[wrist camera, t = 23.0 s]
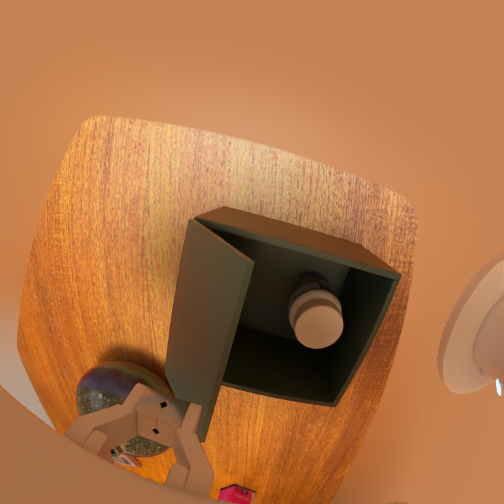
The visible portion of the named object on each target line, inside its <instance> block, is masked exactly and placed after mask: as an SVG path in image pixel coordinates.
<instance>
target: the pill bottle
mask: <svg viewBox="0 0 504 504" xmlns="http://www.w3.org/2000/svg"><path fill="white" fill-rule="evenodd" d="M287 300H288V313H289V321H290V324H291V326H292V328H293V329H294V331H295V335H296V337H297V339H298V340H299V342H300V343H302V344H303V345H304V346H306V347H309V348H314V349H319V348H324V347H327V346H329V345H331V344H333V343H334V342H335V341H336V340H337V339H338V338H339V337H340V335H341V333H342V330H343V319H342V309H341V305H340V302H339V300H338V298H337V296H336V295H335V293H334V291H333V289H332V287H331V285H330V284H329V282H328V280H327V279H326V277H325V276H323V275H322V274H320V273H318V272H315V271H305V272H302V273H299V274H297V275H296V276H295V277H294V278H293V279H292V280H291V281H290V283H289V285H288V289H287Z"/></svg>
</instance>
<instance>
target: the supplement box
mask: <svg viewBox="0 0 504 504" xmlns="http://www.w3.org/2000/svg"><path fill="white" fill-rule="evenodd" d="M254 498H255V492H254V491H251V490H248V489H245V488H243V487H240V486H238V485H235V484H234V485H232V486H229V487H226V488H223V489H220V493H219V498H218V500H221V501H226V502H231V503H237V504H254Z"/></svg>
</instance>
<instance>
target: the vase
mask: <svg viewBox="0 0 504 504" xmlns="http://www.w3.org/2000/svg"><path fill="white" fill-rule="evenodd" d="M138 383H140V384H142V385H145V386H147V387H150V388H152V389H154V390H157V391H159V392H162V393H164V394H167V395H170V396H173V397H175V396H174V394H173V392H172V391H171V389H170V388H169V387H168V386H167V385H166V383H165V382H164V381H163V380H162V379H161V378H159V377H158V376H157V375H156V374H154V373H153V372H151V371H150V370H148V369H146V368H145V367H142V366H140V365H138V364H135V363H132V362H127V361H107V362H103V363H100V364H98V365H96V366H94V367H92V368H91V369H90V370H88V371H87V372H86V373H85V374H84V375H83V377H82V378H81V379H80V381H79V383H78V386H77V390H76V405H77V409H78V412H79V414H80V416H83V415H86V414H90V413H93V412H96V411H99V410H102V409H105V408H109V407H112V406H114V405H117V404H120V405H122V404H123V403H124V401H125V400H126V398H127V397H128V395H129V394H130V392H131V391H132V390H133V388H134V387H135V385H136V384H138ZM169 448H170V447H168V446H165V445H163V444H160V443H157V442H155V441H152V440H150V439H147V438H144V437H142V436H139V435H137V436H136V437H135V438H133V439H131V440H129V441H127V442H125V443H123V444H121V445H119V446H117V447H115V448H113V449H111V454H112V457H119V456H120V454H122V455H127V456H132V457H153V456H157V455H159V454H162V453H164V452H166V451H167V450H168V449H169Z"/></svg>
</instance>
